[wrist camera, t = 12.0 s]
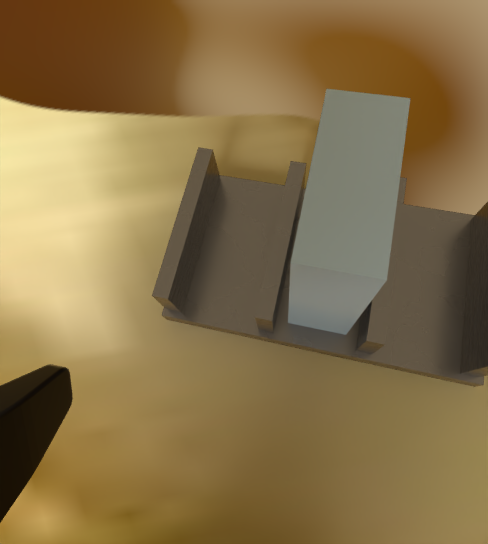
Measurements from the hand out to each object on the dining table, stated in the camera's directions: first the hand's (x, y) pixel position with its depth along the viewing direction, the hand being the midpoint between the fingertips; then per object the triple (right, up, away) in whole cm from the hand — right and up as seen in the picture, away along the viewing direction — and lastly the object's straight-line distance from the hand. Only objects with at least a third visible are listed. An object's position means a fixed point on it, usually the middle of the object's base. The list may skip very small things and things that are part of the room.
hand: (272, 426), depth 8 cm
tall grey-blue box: (+4, +3, +14) cm, 15 cm away
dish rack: (+4, +3, +15) cm, 16 cm away
